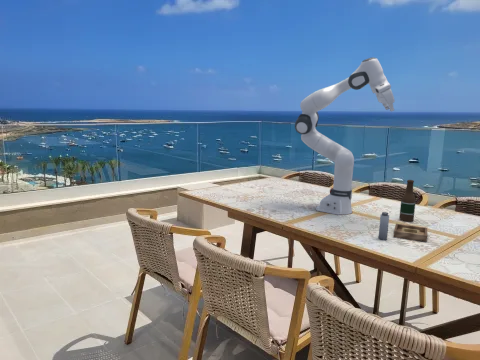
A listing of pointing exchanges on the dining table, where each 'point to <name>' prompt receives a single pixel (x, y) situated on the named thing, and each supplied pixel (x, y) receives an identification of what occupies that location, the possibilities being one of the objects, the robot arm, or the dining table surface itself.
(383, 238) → the grey capped bottle
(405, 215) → the beer bottle
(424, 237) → the walnut box
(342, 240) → the dining table surface
